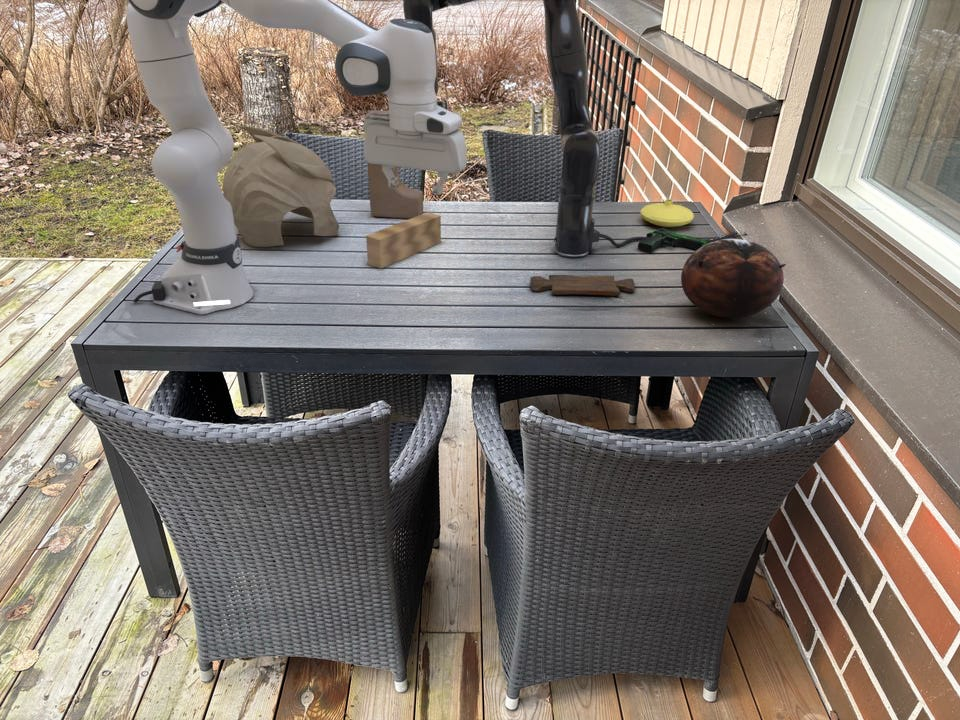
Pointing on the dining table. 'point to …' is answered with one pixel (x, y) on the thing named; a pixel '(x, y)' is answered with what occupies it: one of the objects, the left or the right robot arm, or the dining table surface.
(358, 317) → the dining table surface
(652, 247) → the handgun
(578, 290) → the dark wooden board
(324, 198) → the helmet
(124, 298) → the dining table surface
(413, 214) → the decorative block
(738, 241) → the brown coconut
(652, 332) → the dining table surface
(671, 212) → the yellow knobbed lid
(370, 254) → the bar
